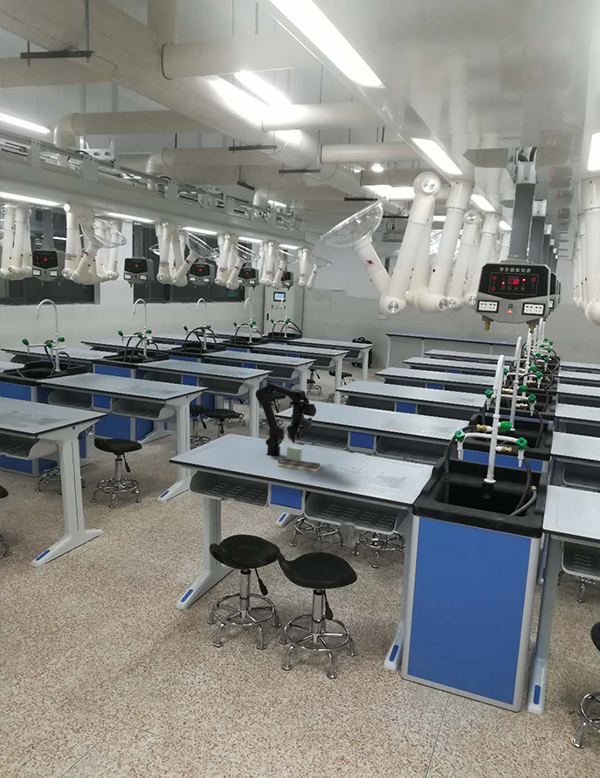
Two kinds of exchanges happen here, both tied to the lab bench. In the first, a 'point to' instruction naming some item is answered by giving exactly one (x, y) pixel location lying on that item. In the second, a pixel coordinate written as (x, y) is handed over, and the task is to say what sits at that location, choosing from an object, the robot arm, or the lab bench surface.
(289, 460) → the track
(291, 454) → the door panel
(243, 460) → the lab bench surface
